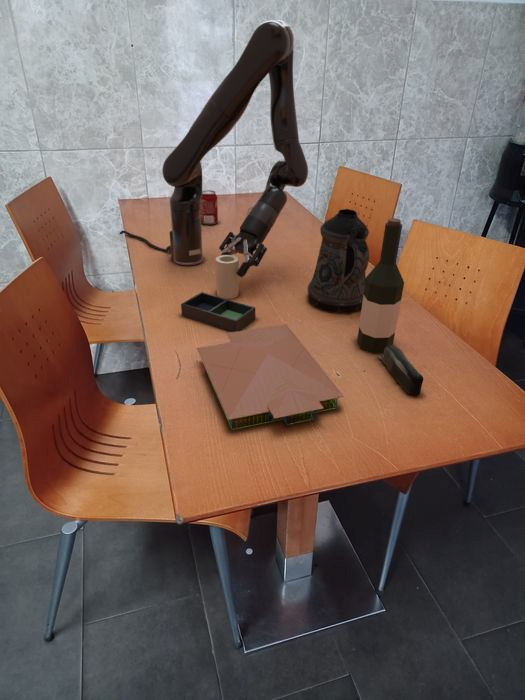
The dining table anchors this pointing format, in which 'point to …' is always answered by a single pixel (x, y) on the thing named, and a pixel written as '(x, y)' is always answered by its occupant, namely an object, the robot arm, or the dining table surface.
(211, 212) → the soda can
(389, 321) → the wine bottle
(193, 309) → the tray
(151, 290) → the dining table surface
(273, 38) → the robot arm
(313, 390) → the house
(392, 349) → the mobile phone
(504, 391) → the dining table surface
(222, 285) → the jar
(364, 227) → the beer stein
